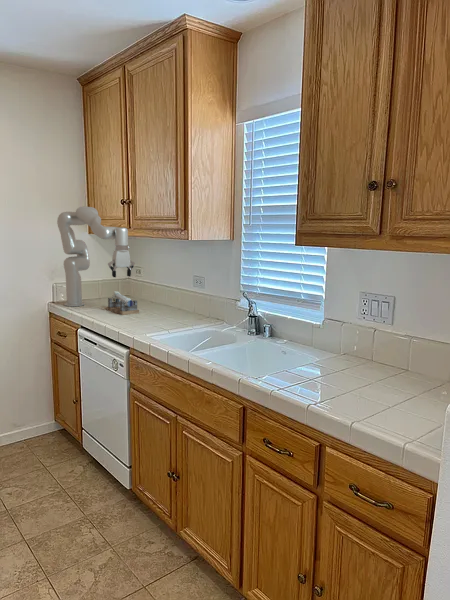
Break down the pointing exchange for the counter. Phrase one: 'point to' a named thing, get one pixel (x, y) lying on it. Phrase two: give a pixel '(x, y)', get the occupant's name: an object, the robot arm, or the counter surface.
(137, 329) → the counter surface
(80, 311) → the counter surface
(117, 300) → the white elongated piece
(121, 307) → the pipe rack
